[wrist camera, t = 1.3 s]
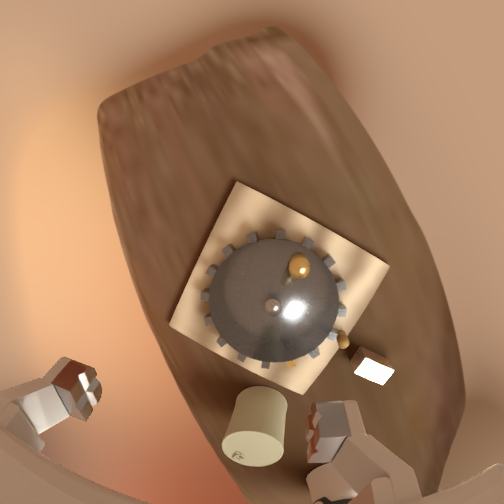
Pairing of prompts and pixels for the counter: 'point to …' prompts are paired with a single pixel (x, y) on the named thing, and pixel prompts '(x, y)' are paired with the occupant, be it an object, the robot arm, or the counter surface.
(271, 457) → the can
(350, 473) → the robot arm
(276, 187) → the counter surface
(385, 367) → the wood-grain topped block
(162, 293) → the counter surface
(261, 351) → the sprocket
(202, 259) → the plate
